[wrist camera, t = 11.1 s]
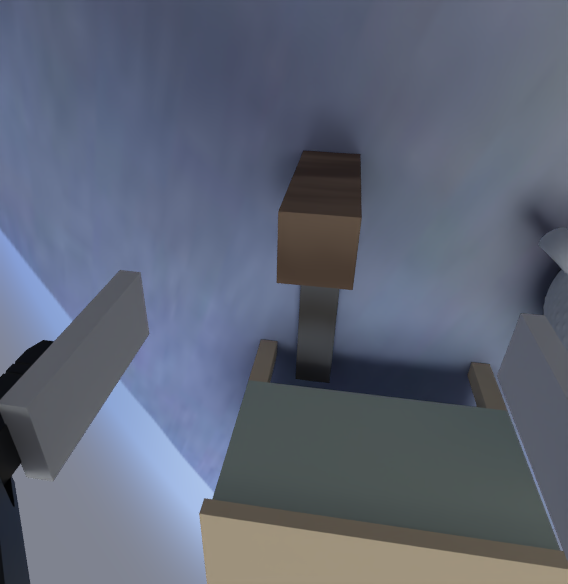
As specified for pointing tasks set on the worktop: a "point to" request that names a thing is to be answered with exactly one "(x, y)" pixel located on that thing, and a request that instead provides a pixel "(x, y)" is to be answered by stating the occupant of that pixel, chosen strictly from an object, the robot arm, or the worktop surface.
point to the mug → (557, 283)
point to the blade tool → (319, 249)
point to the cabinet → (375, 491)
